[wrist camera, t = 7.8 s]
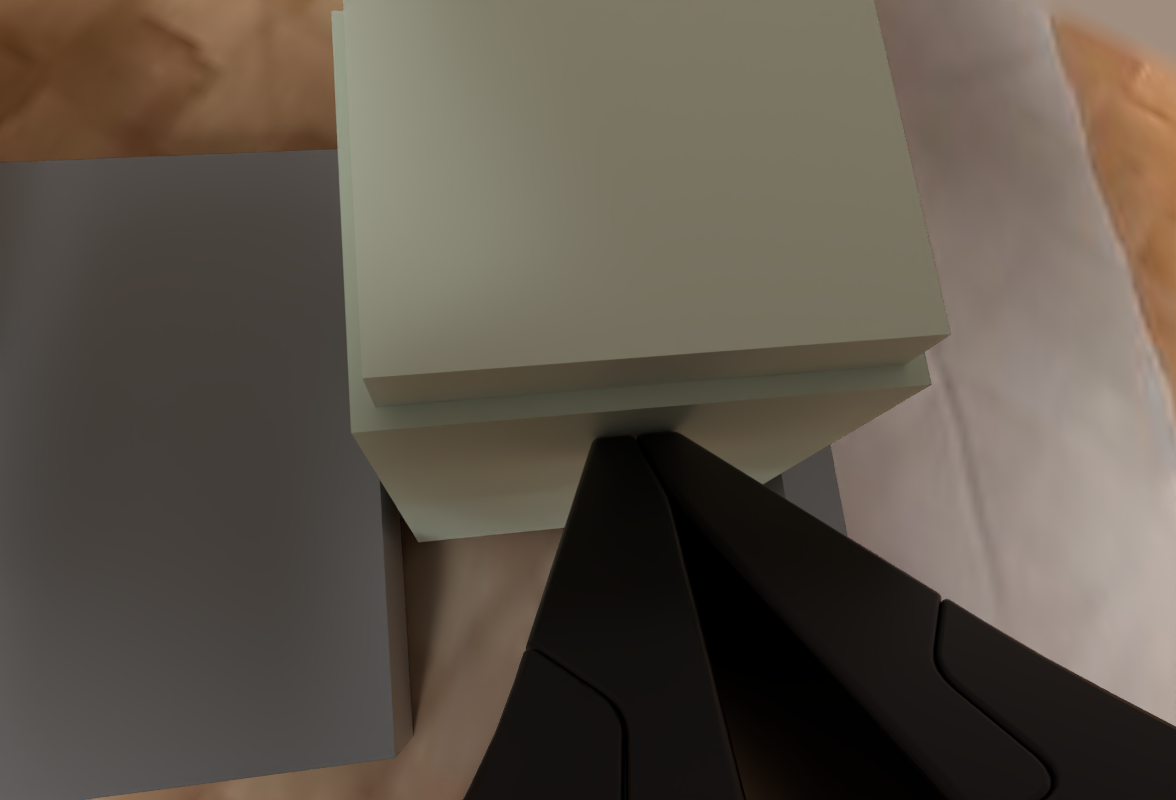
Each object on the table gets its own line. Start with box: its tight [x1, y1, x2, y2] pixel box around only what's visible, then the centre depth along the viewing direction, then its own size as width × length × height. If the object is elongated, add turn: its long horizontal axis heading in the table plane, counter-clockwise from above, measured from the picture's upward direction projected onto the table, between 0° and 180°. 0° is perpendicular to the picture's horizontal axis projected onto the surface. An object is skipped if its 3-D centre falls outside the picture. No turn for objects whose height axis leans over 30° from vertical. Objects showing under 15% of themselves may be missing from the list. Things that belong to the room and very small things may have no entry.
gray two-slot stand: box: [0, 149, 847, 800], centre depth 13 cm, size 9×18×3 cm, turn 97°
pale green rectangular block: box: [331, 0, 951, 542], centre depth 11 cm, size 4×5×8 cm
